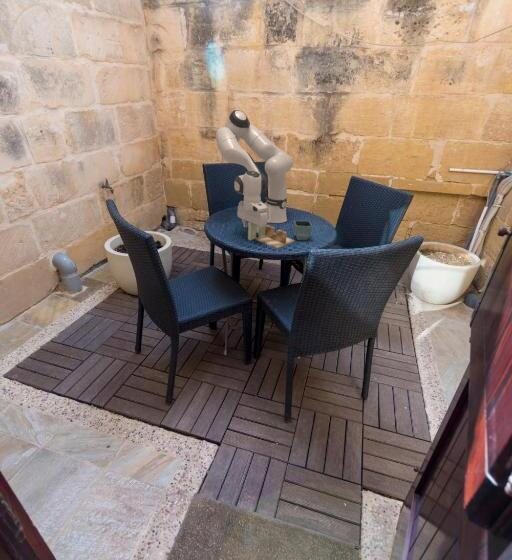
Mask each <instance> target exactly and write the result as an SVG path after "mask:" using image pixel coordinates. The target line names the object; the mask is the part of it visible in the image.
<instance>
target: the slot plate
mask: <svg viewBox="0 0 512 560" xmlns="http://www.w3.org/2000/svg"><path fill="white" fill-rule="evenodd" d="M247 222H248V223H247V224H248V227H247V228H248V229H247V240H248V241H253V240H256V238H257V234H258V237H260V236H263V235H265V226H262V227H261V228H260V229H259V232H258V233H257V232H255V229H257V225H256V224H254V223H251V222H249V221H247ZM266 225H268V223H267V224H266Z"/></svg>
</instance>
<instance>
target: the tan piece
mask: <svg viewBox="0 0 512 560" xmlns="http://www.w3.org/2000/svg"><path fill="white" fill-rule="evenodd" d="M275 229H276V228H275V226H272V225H269V224H267V225H266V226H265V235H263V236H260V237H259V236H258V237H257V236H256V239H255V240H256V241H258V242H260V243H262V244H265V245H267V246H269V247H271V248H274V249H276V250H278V249H280V248H284V247H286V246H288V245H291V244H293V243H295V240H294V239H292V238H291V237H290V238H289V237H287V236H288V232H287V231H285V230H282V229H277V230H276V232H275Z"/></svg>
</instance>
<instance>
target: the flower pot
mask: <svg viewBox="0 0 512 560" xmlns="http://www.w3.org/2000/svg"><path fill="white" fill-rule="evenodd" d="M312 229H313V225H312V223H311V222H310V221H309V220H294V221H293V230H294V231H293V232H294V235H295V237H296V240H297V241H307V240H308V239H309V237H310V235H311V233H312Z"/></svg>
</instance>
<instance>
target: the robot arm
mask: <svg viewBox="0 0 512 560" xmlns="http://www.w3.org/2000/svg"><path fill="white" fill-rule="evenodd" d="M241 139H242V140H243V141H244V143H245V144H246V145H247V147H249V149H250V150H251V151H252V152H253V153H254V154H255V155H256V156H257V157H258V159H261V160H263V161H264V162H265V164H264V171H265V173H266V175H267V176H266V175H265V174H264V173H263V172H262V170H261V169H260V168H259V166H258V165H257V162H255V160H254V158H253V157H252V156H251V154H250V153H249V152H248V151H246V150H245V149H244V148H243V147H242V146H241V144H240V143H239V141H240V140H241ZM215 140H216V144H217V147H218V150H219V153H220V155H221V157H222V158H223V160H225V161H226V162H228V163H232V164H237V165H240V166H243V167H244V168H245V169H247V171H246V172H245V173H244V174H241V175H238V176H236V177H235V179H234V181H233V188H234V191H235V192H236V193H237V194H238V195H243V200H240V201H238V202H239V203H238V206H237V213H236V214H237V217H238V218H239V219H241V221H242V223H243V227H244V228H248V223H247V222H251V223H254V224H256V225H257V229H255V232H256V234H258V232H259V229H260V228H261V227H262V226H266V224H267V225H268V224H271V223H272V224H281V223H282V224H283V223H285V222H287V221H288V218H287V208H286V207H287V201H288V200H287V194H288V193H287V191H288V184H287V182H286V173H288V172H289V171H291V169H293V166H294V159H293V157H292V156H291V155H289V154H287V153H286V152H285V151H284V150H282V149H281V148H279V147H278V145H276V144H274V143H273V142H271V139H269V138H268V137H267V136H266V134H265V133H264V132H262V131H261V130H260V129H259V128H258V127H256V125H254V124H252V123H250V120H249V118H248V116H247V114H246V113H245V112H244V111H242V110H240V109H234V110H233V111H232V112H231V113H230V114H229V116H228V118H227V120H226V121H225V124H224V126H221V127H219V128H218V129H217V131H216V133H215ZM267 189H268V196H266V197H265V200H266V201H265V202H263V201H262V199H261V198H262V197H261V194H263V193H264V192H266V190H267Z"/></svg>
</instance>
